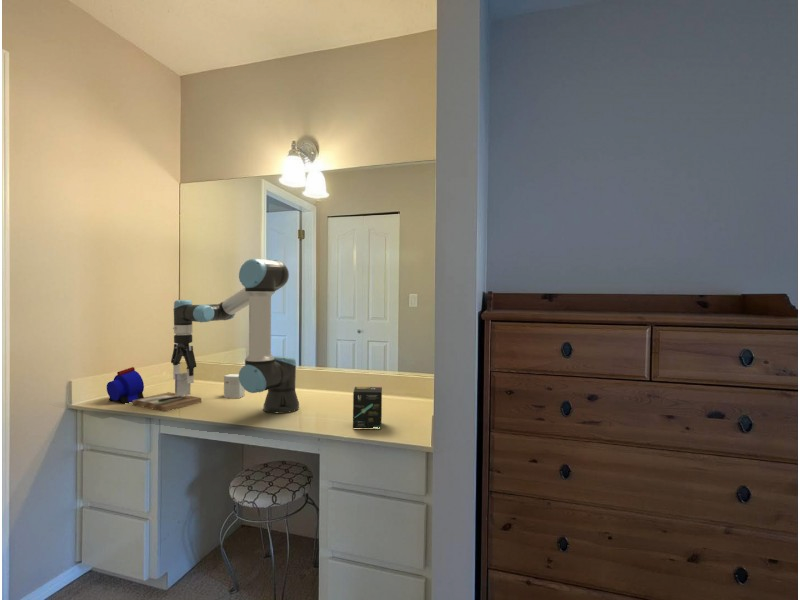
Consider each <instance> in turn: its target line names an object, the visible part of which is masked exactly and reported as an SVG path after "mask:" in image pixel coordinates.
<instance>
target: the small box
mask: <svg viewBox="0 0 800 600" xmlns="http://www.w3.org/2000/svg"><path fill="white" fill-rule="evenodd" d="M245 391H246V390H245V389H244V387H242V385H241V384H240V381H239V373H236V374H235V373H229V374H226V375H224V376H223V397H224V398H226V399H240V397H241V398H242V396H243V397H245V396H246V395H245V394H246V393H245Z"/></svg>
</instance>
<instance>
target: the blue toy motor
mask: <svg viewBox="0 0 800 600" xmlns="http://www.w3.org/2000/svg"><path fill="white" fill-rule="evenodd" d="M116 373H117V374H116V375H115V376H114V378H113V380H110V381H109V382H107V384H106V392H107V394H108V397H109V398H108V401H109V400H110V401H114V402H115V401H116V402H117V401H120V403H122V404H123V405H126V404H125V403H128V404H130V403H129V402H132V400H136V399H141V398H145V396H144V393H143V392H144V389H145V386H144V385H145V384H144V380H143V378H142V376H141V374H140V373H139V372H138V371H136V369H135V367H134V366H131V367H129V368H125V369H123V370H120V371H117V372H116Z"/></svg>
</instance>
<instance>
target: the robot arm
mask: <svg viewBox="0 0 800 600" xmlns="http://www.w3.org/2000/svg"><path fill="white" fill-rule="evenodd" d="M289 276H290V273H289V269H288V267H287V266H286V264H285V263H283V262H281V261H279V260H276V259H275V260H272V259H264V258H249V259H248V260H246V261H245V262H244V263H242V265H241V266H240V268H239V273H238V279H239V282H240V283H241V285H242V287H243V288H241V289H240V290H239V291H237V292H235V293H233V295H230V296H229V297H228V298H226V299H224V300H223V301H222V302H220V303H217V304H214V303H213V304H193V301H192V300H189V299H180V300H179V299H176V300H175V301H174V302H173V328H172V329H173V334H174V335H173V343H174V344H173V350H172V354H171V355H172V356H171V359H170V363H171V364H172V365H173V369H172V370H173V380H174V381H175V374H177V373H181V360H182V357H183V358H184V360H185V364H186V368H185V369H186V372H187V384H188V383H191V384H193V383H194V382H195V381H194V378H195V374H194V371H195V370H194V369H195V368H197V363H196V358H195V353H194V346H193V345H190V343H193V322H196V323H197V322H198V323H209V322H213V321H214V322H215V321H229V320H232V319H233V318H235V315H236V313H237V312H239V311H241V310H242V309H244V308H246V307H248V355H247V356H246V358H245V359H244V366H242V367H241V368H240V370H239V372H238V374H239V381H240V384H241V385H242V387H244V389H245V391H246V392H248V393H250V394H256V393H262V392H265V391H267V393H266V397H265V400H264V402H263V411H264V412H266V411H267V412H266V413H269V412H288V413H290V412H289V411H293V412H295V411H294V410H296V411H298V410H299V409H300V402H299V399H298V396H297V392H296V373H297V372H296V371H297V370H296V369H297V365H296V359H295V357H291V356H284V355H283V356H282V355H281V356H280V355H279V356H278V355H272V350H271V349H272V296H273V295H274V294H275V292H277V291H279V290H280V289H281V288H283V287H284V286H285V285H286V284H287V283H288V280H289ZM298 408H299V409H298ZM297 409H298V410H297Z"/></svg>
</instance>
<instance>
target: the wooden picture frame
mask: <svg viewBox="0 0 800 600" xmlns="http://www.w3.org/2000/svg"><path fill="white" fill-rule="evenodd" d="M170 397H176V396H175V392H169V391H168V392H163V393H159V394H155V395H149V396H147V397H145V396H144V398H141V399H136V400H132V404H134V405H133V406H136V405H139V406H138V407H141V406H144V407H143V408H146V407H148V408H147V409H151V408H153V409H152V410H156V409H159V410H158V411H161V410H164V411H163V412H169V411H168V410H170V411H173V410H172V409H174V410H177V409H181V408H184V406H185V407H188V405H189V406H192V404H193V405H195V404H199V403H202V397H200V396H199V397H198V396H192V395H186V397H184V398H176V399H170V400H164V401H159V399H163V398H170ZM180 407H181V408H180ZM176 408H177V409H176Z"/></svg>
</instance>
